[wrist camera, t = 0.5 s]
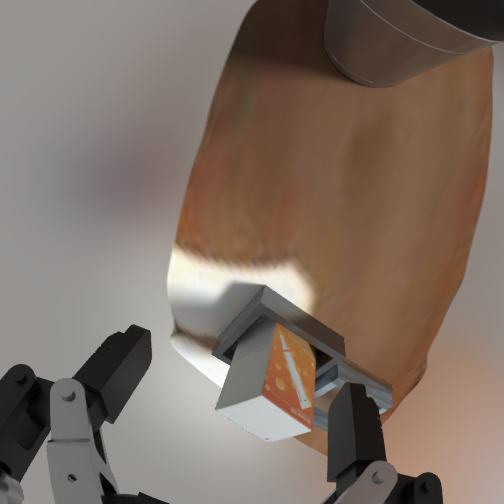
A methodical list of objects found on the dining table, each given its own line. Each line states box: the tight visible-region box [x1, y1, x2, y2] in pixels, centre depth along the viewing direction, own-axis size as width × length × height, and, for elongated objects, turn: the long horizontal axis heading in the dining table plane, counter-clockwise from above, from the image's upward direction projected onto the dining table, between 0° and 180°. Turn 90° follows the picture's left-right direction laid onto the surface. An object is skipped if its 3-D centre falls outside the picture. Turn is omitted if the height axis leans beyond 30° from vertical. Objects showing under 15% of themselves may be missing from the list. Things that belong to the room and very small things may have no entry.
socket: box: [212, 285, 346, 379], centre depth 33 cm, size 11×12×4 cm
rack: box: [312, 358, 393, 431], centre depth 35 cm, size 12×13×4 cm
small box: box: [215, 317, 316, 442], centre depth 28 cm, size 8×6×13 cm
